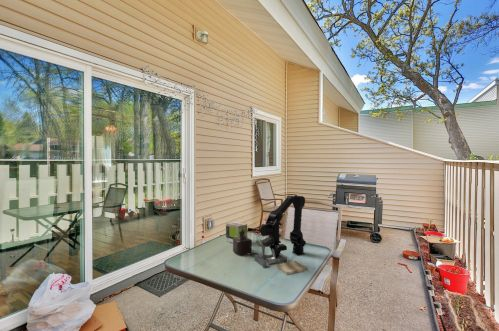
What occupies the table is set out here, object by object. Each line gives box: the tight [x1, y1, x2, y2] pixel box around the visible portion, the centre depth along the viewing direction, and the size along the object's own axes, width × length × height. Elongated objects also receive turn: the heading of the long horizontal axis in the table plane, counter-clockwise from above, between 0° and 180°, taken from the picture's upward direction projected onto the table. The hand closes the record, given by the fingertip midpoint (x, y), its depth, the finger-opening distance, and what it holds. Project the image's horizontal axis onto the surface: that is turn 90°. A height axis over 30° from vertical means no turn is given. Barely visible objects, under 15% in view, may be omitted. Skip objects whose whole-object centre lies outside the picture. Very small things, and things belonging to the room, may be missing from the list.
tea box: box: [225, 221, 248, 244], centre depth 200 cm, size 15×10×15 cm
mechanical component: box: [255, 239, 270, 256], centre depth 172 cm, size 3×10×10 cm, turn 79°
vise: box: [254, 252, 288, 268], centre depth 161 cm, size 17×12×4 cm
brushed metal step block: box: [266, 248, 280, 265], centre depth 159 cm, size 7×3×8 cm, turn 115°
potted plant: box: [232, 229, 253, 256], centre depth 176 cm, size 16×11×18 cm
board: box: [275, 260, 308, 275], centre depth 151 cm, size 14×12×1 cm
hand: (275, 257), depth 160 cm, fingers closed on brushed metal step block, 3 cm apart
